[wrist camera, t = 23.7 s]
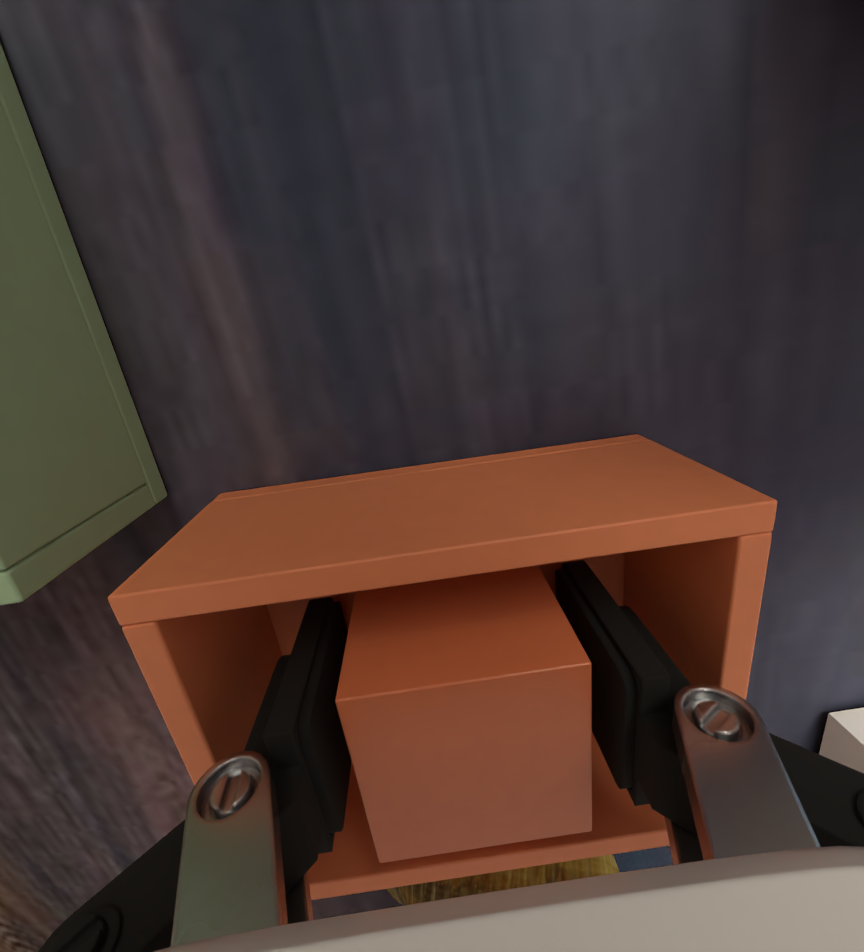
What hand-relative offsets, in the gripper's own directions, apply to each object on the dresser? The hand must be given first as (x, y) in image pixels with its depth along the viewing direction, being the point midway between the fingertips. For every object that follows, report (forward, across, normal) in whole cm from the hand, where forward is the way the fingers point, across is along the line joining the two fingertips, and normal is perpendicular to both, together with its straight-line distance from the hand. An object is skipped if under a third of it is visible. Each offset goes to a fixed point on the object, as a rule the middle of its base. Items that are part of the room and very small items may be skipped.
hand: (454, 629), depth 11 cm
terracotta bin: (+2, 0, 0) cm, 2 cm away
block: (+1, 0, 0) cm, 1 cm away
